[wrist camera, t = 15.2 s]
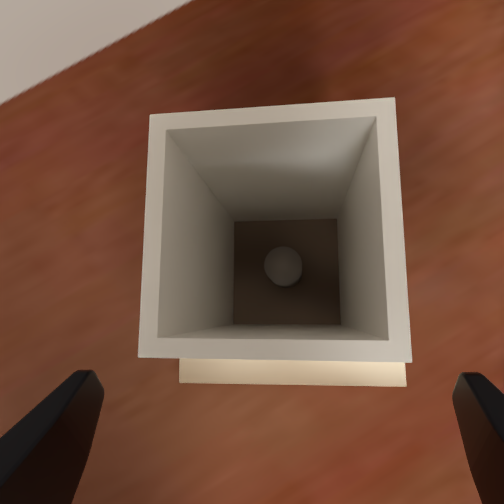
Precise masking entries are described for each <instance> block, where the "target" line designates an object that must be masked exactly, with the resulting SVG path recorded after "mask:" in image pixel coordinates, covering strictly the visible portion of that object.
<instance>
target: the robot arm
mask: <svg viewBox="0 0 504 504" xmlns="http://www.w3.org/2000/svg"><path fill="white" fill-rule="evenodd" d="M103 399H104V388H103V386H102V384H101V382H100V380H99V379H98V377H97V375H96V373H95V372H94V371H93V370H78V371H76V372H74V373H73V374H72V375H71V376H70V377H68V378H67V379H66V380H65V381H64V382H63V383H62V384H61V385H59V386H58V387H57V388H56V389H55V390H54V391H53V392H52V393H50V394H49V395H48V396H47V397H46V398H45V399H44V400H43V401H41V402H40V403H39V404H38V405H37V406H36V407H35V408H34V409H32V410H31V411H30V412H29V413H28V414H27V415H26V416H25V417H23V418H22V419H21V420H20V421H19V422H18V423H17V424H16V425H14V426H13V427H12V428H11V429H10V430H9V431H8V432H7V433H5V434H4V435H3V436H2V437H1V438H0V504H71V503H72V501H73V498H74V495H75V492H76V490H77V487H78V484H79V481H80V479H81V476H82V473H83V470H84V468H85V465H86V462H87V459H88V456H89V453H90V449H91V446H92V442H93V438H94V434H95V430H96V426H97V422H98V418H99V414H100V411H101V407H102V403H103ZM452 399H453V405H454V409H455V413H456V416H457V420H458V424H459V428H460V432H461V436H462V440H463V444H464V448H465V452H466V456H467V460H468V463H469V467H470V471H471V474H472V477H473V479H474V482H475V485H476V488H477V491H478V493H479V496H480V499H481V501H482V504H504V394H503V393H502V392H501V391H500V390H499V389H498V388H497V387H496V386H495V385H493V384H492V383H491V382H490V381H489V380H488V379H487V378H486V377H485V376H484V375H482V374H481V373H478V372H462V373H461V374H459V376H458V379H457V382H456V385H455V388H454V390H453V395H452Z"/></svg>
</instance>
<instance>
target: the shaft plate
mask: <svg viewBox="0 0 504 504" xmlns="http://www.w3.org/2000/svg"><path fill="white" fill-rule="evenodd" d="M233 324H310V325H341V317H340V289H339V261H338V234H337V219H304V220H271V221H238V222H234V301H233ZM179 383H217V384H278V385H339V386H401V387H407V386H406V372H405V362H352V361H297V360H243V359H189V358H180V362H179Z"/></svg>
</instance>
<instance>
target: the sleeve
mask: <svg viewBox="0 0 504 504" xmlns="http://www.w3.org/2000/svg"><path fill="white" fill-rule="evenodd" d="M304 219H337V234H338V261H339V289H340V317H341V325H310V324H233V301H234V222H238V221H271V220H304ZM138 358H189V359H243V360H297V361H352V362H406V363H412V352H411V337H410V322H409V306H408V291H407V276H406V260H405V245H404V230H403V214H402V199H401V184H400V168H399V153H398V138H397V123H396V107H395V97H392V98H378V99H364V100H350V101H335V102H321V103H307V104H293V105H279V106H264V107H250V108H236V109H222V110H207V111H193V112H179V113H165V114H151V115H150V121H149V142H148V162H147V183H146V203H145V223H144V244H143V264H142V285H141V305H140V326H139V346H138Z"/></svg>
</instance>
